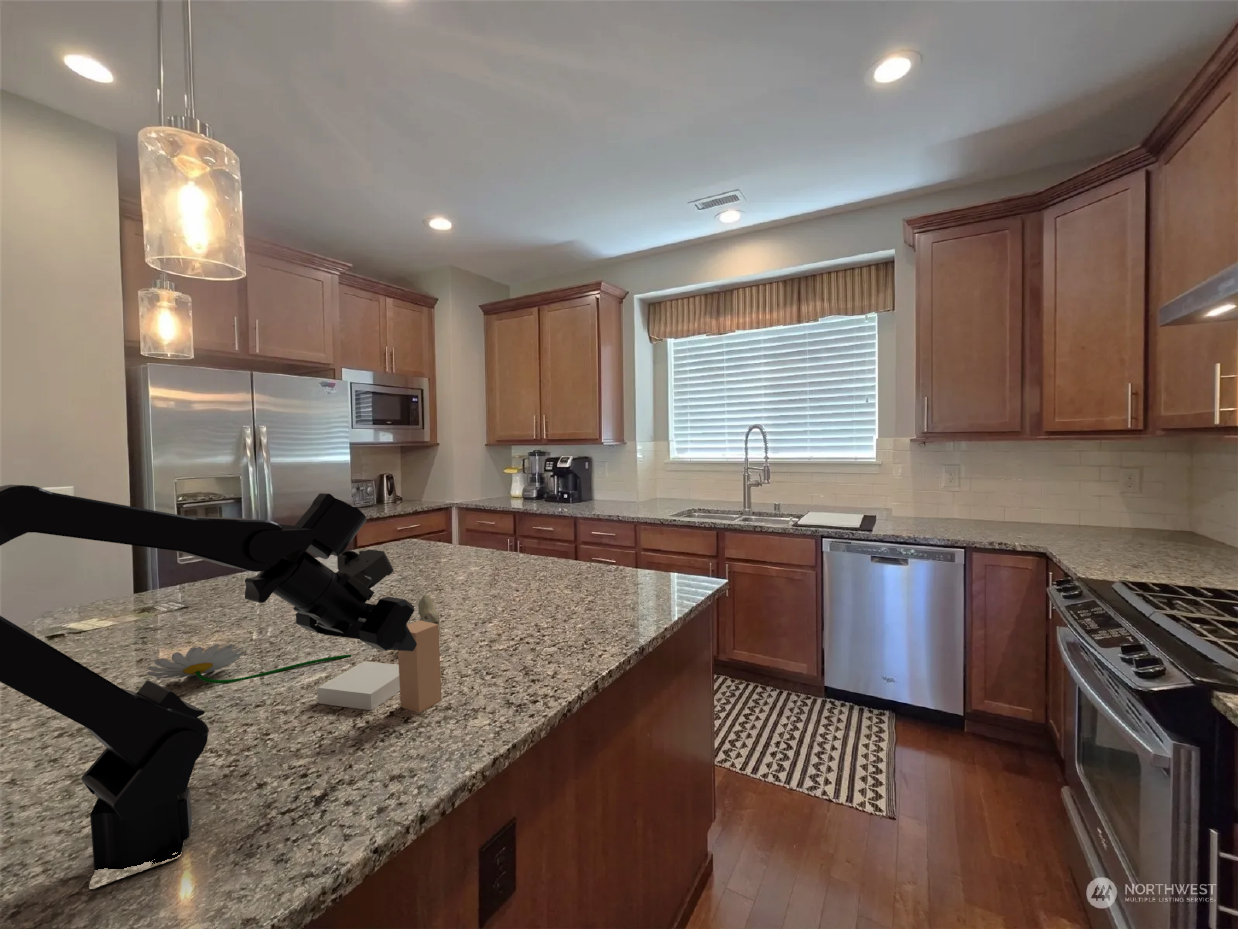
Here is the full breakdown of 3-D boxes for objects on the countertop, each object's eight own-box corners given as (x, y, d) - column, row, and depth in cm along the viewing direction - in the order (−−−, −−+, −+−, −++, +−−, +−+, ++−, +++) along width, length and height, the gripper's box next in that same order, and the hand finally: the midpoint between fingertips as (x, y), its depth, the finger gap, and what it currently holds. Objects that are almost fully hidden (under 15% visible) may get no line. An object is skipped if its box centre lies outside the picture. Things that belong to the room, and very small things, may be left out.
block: (419, 713, 77) (415, 633, 77) (400, 706, 80) (396, 629, 79) (441, 700, 81) (438, 624, 81) (423, 694, 83) (419, 620, 83)
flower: (354, 631, 96) (141, 646, 82) (352, 662, 94) (132, 683, 80) (350, 650, 106) (159, 666, 92) (348, 678, 103) (151, 699, 89)
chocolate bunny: (410, 652, 101) (408, 601, 100) (410, 638, 108) (408, 591, 107) (441, 647, 103) (438, 597, 102) (438, 634, 110) (436, 587, 110)
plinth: (371, 710, 79) (370, 694, 78) (318, 703, 81) (317, 687, 81) (414, 680, 88) (413, 666, 88) (365, 675, 91) (364, 661, 91)
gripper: (397, 539, 66) (467, 600, 76) (312, 530, 75) (384, 586, 85) (341, 620, 60) (425, 675, 70) (256, 600, 69) (341, 651, 79)
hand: (393, 642), depth 76 cm, fingers open, 9 cm apart
